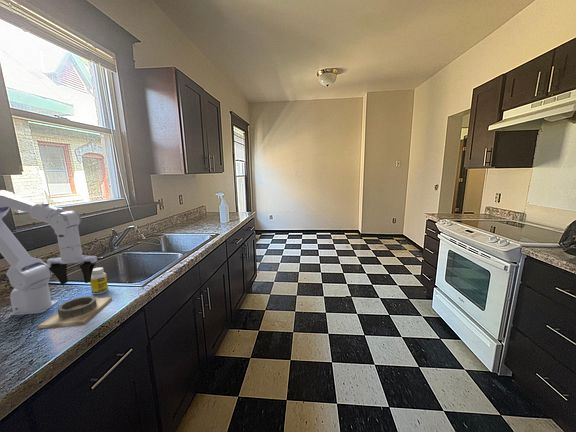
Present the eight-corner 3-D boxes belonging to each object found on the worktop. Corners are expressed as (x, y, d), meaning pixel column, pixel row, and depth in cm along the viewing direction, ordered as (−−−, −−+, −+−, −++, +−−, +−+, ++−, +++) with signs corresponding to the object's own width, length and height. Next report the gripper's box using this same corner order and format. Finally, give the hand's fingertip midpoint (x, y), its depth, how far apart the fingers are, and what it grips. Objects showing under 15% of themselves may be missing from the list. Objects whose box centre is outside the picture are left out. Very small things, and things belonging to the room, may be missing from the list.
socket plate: (38, 328, 77) (36, 318, 76) (74, 302, 93) (72, 293, 92) (84, 324, 79) (82, 314, 78) (112, 299, 94) (110, 291, 94)
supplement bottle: (99, 295, 98) (96, 272, 96) (88, 294, 99) (84, 271, 97) (111, 289, 103) (108, 266, 102) (100, 288, 104) (97, 266, 103)
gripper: (36, 250, 81) (44, 289, 83) (85, 248, 83) (91, 285, 85) (53, 244, 87) (60, 280, 90) (98, 242, 89) (103, 277, 92)
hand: (76, 282), depth 88 cm, fingers open, 7 cm apart
